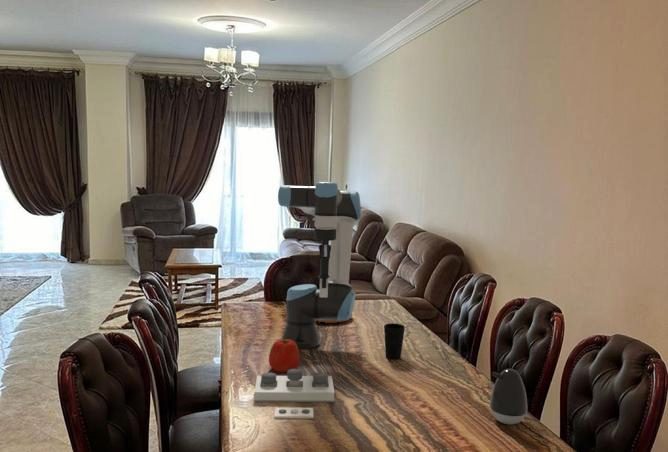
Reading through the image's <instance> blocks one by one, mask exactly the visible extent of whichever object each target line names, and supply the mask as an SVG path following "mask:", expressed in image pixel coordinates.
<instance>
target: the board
mask: <svg viewBox="0 0 668 452" xmlns="http://www.w3.org/2000/svg"><path fill="white" fill-rule="evenodd" d="M253 397H254V399H253V402H254V403H335V389H334V381H333V376H332V375H328V383H326V384H325V387H316V384H315V383H314V382H313V375H302V379H300V382H299V387H290V379H288V378H287V375H276V383H274V385H273V387H264V383H262V382H261V375H257V376H256V381H255V387H254V393H253Z"/></svg>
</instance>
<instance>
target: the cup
mask: <svg viewBox="0 0 668 452" xmlns="http://www.w3.org/2000/svg"><path fill="white" fill-rule="evenodd" d="M383 327H384V329H383V331H384V333H383V334H384V349H385V358H386V359H388V360H391V361H392V360H393V361H397V360H401V358H402V350H403V344H404V337H405V329H406V326H405V325H403V324H401V323H394V322H393V323H387V324H384V326H383Z"/></svg>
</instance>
